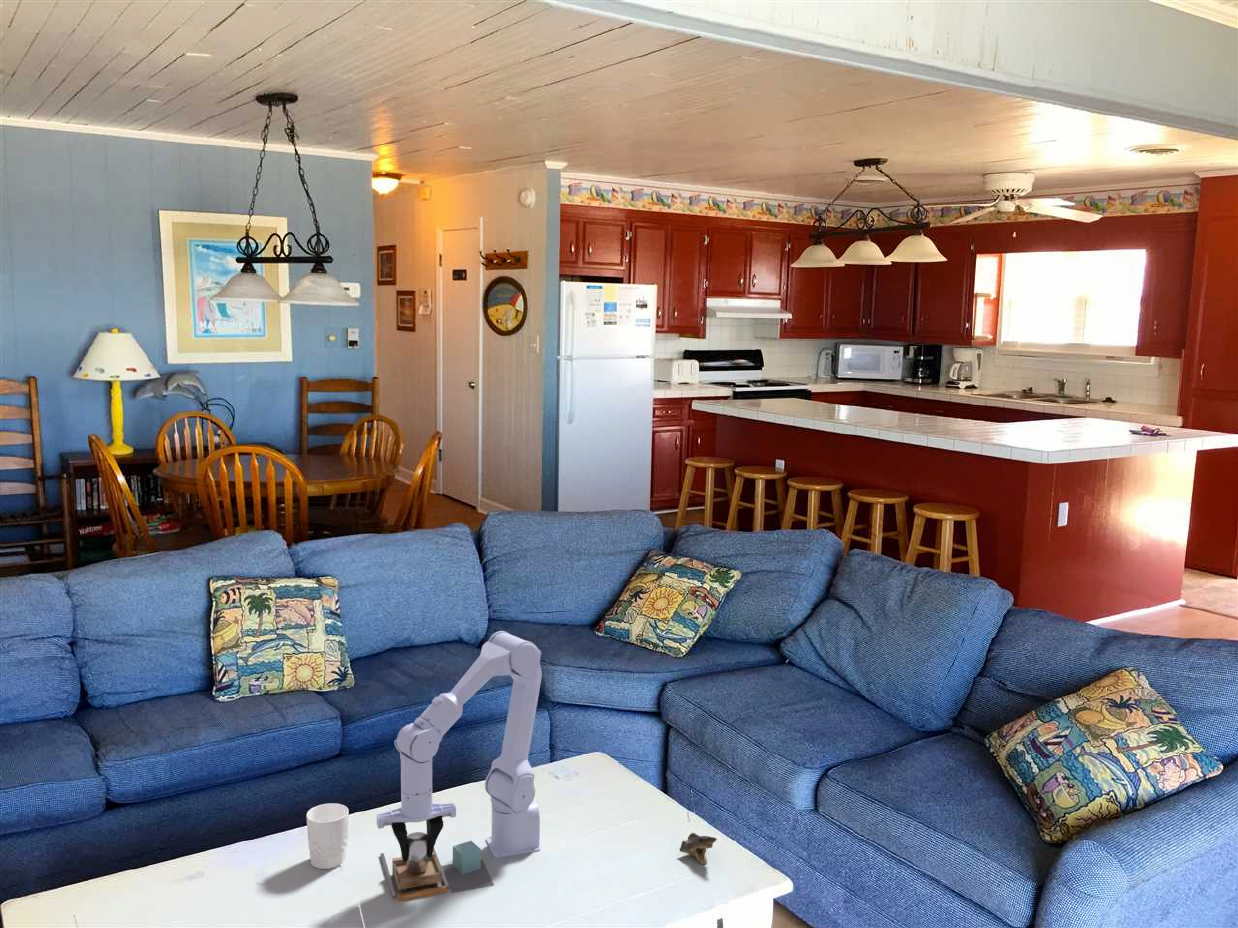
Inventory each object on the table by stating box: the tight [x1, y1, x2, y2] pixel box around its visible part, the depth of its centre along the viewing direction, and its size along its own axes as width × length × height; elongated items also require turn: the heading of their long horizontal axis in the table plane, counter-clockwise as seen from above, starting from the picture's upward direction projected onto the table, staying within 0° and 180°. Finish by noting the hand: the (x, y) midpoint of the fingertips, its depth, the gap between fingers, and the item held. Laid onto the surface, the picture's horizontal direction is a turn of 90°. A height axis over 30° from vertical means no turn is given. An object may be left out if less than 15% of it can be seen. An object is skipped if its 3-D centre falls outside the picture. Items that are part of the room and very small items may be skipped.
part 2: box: [452, 840, 482, 875], centre depth 196 cm, size 4×4×4 cm
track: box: [379, 848, 450, 902], centre depth 194 cm, size 10×17×1 cm, turn 21°
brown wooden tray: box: [391, 851, 443, 893], centre depth 191 cm, size 8×8×4 cm
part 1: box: [406, 831, 428, 873], centre depth 190 cm, size 4×4×6 cm
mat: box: [441, 858, 495, 894], centre depth 194 cm, size 8×10×1 cm
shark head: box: [679, 832, 717, 865], centre depth 202 cm, size 8×6×7 cm
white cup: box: [305, 802, 349, 870], centre depth 198 cm, size 8×8×10 cm
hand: (416, 856), depth 190 cm, fingers closed on part 1, 4 cm apart
